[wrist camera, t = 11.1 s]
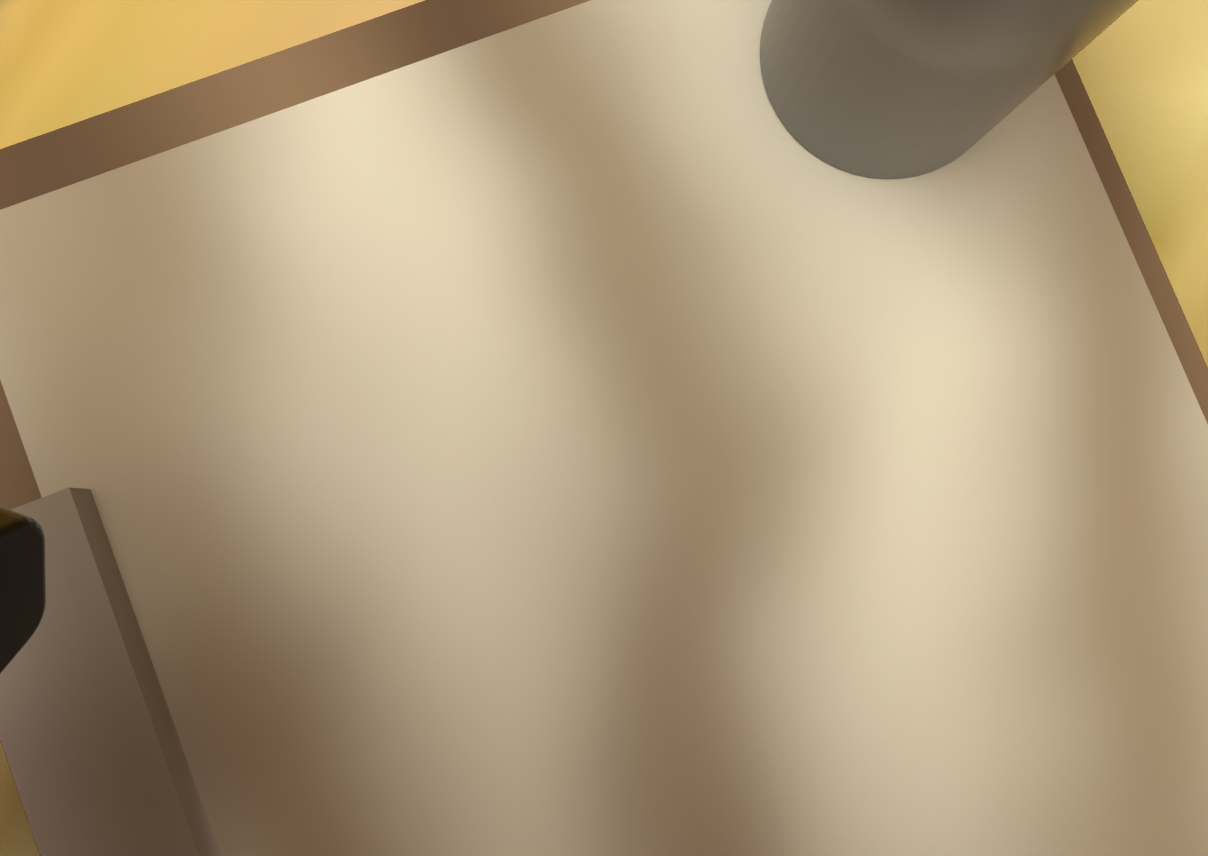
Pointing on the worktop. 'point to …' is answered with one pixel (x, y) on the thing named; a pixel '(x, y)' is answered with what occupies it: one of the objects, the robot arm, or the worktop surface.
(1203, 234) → the worktop surface
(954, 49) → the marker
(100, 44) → the worktop surface
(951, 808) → the brown framed square board
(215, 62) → the worktop surface
